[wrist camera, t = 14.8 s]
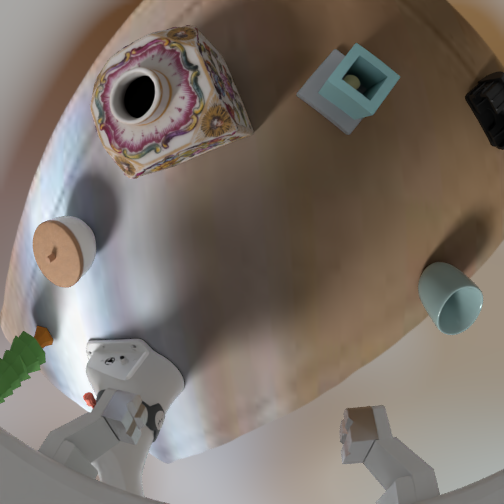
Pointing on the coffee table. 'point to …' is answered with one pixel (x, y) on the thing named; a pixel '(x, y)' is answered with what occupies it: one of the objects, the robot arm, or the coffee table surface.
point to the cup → (449, 297)
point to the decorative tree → (22, 360)
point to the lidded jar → (64, 249)
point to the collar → (370, 76)
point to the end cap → (489, 107)
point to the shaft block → (322, 104)
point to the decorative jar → (166, 102)
